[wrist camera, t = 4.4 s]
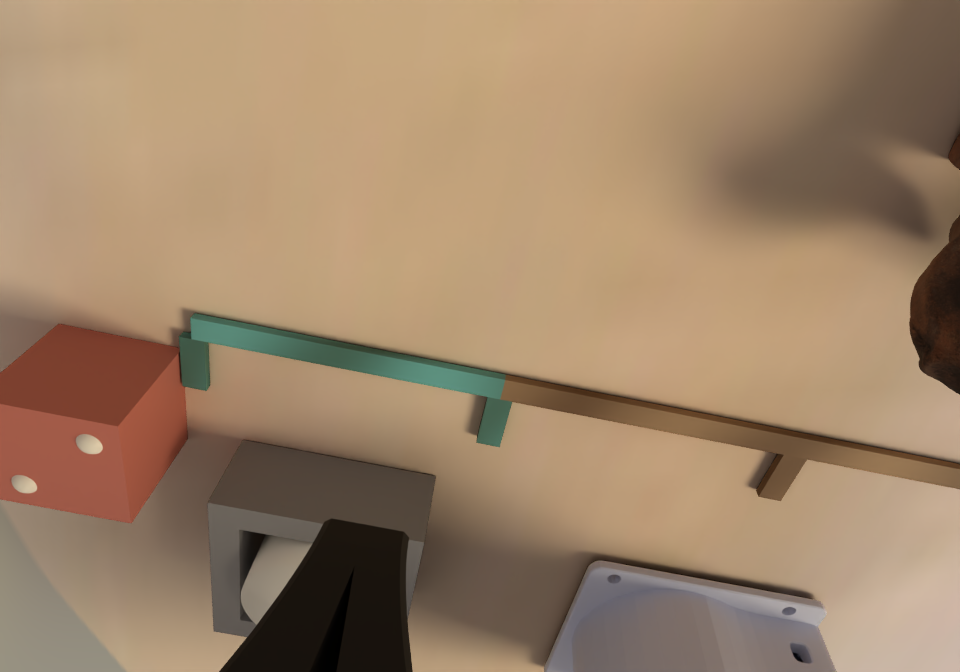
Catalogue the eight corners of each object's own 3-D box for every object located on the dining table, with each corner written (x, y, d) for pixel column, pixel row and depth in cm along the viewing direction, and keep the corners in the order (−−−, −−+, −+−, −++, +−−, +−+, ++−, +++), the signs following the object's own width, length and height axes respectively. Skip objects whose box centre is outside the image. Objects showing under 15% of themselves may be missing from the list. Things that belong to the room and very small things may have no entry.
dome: (392, 508, 23) (374, 587, 21) (379, 584, 26) (361, 663, 23) (271, 486, 23) (236, 562, 20) (269, 564, 26) (237, 642, 23)
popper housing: (435, 476, 23) (424, 542, 21) (410, 594, 27) (397, 663, 25) (242, 439, 23) (207, 502, 21) (243, 564, 27) (213, 631, 24)
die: (183, 347, 21) (114, 431, 18) (188, 437, 23) (127, 528, 20) (60, 322, 21) (-36, 402, 18) (76, 415, 23) (-5, 504, 20)
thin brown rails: (1754, -163, 12) (1779, -164, 12) (1044, 545, 23) (1050, 552, 23) (123, -586, 11) (113, -598, 11) (186, 380, 22) (182, 386, 22)
